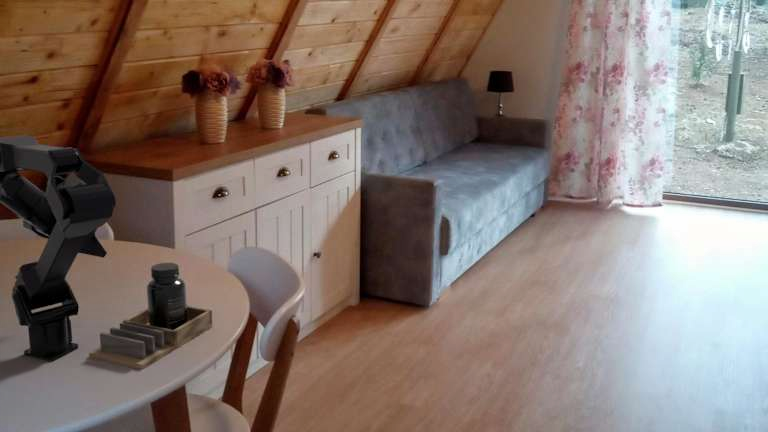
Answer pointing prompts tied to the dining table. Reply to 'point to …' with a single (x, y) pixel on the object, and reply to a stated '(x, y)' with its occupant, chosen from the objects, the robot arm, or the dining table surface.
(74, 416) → the dining table surface
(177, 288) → the supplement bottle
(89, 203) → the robot arm
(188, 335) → the wooden desk organizer
